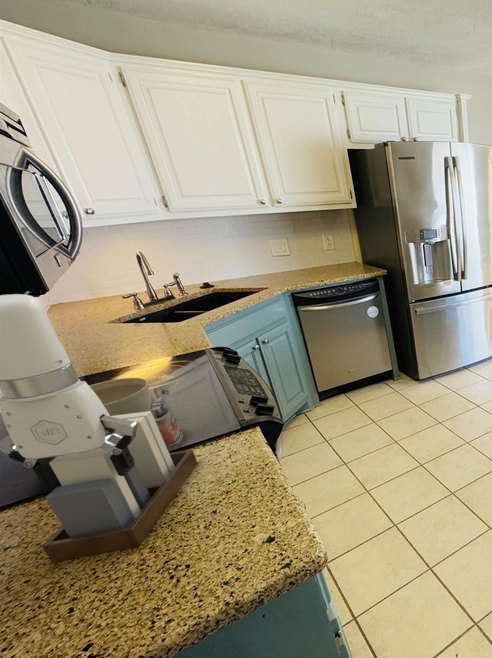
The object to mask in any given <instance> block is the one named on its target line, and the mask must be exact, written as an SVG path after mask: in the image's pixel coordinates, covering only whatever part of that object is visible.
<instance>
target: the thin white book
mask: <svg viewBox="0 0 492 658" xmlns="http://www.w3.org/2000/svg"><path fill="white" fill-rule="evenodd" d="M111 455H112V453H110V452H108V451H106V450H98V451H91V452H84V453H77V454H70V455H61V456H55V457H54V459H53V460H52V461H51V462H49V464H50V466H51V468H52V469H53V471H54V473H55V474H56V476H57V478H58V480H59V481H58V482H59V484H60V486H65V485H72V484H78V483H84V482H90V481H97V480H103V479H109V478H111V480H112V481H113V483H114V485H115V487H116V489H117V491H118V493H119V495H120V497H121V499H122V501H123V503H124V505H125V507H126V509H127V511H128V513H129V515H130V516H131V518H132V520H133V521H134V520H135V518H136V517H137V516H138V515H139V513H140V512H141V510H140V508H139V506H138V504H137V502H136V500H135V498H134V496H133V494H132V492H131V490H130V488H129V486H128V484H127V482H126V480H125V478H124V476H119V475H118V473H117V471H116V469H115V467H114V465H113V463H112V461H111V459H110V456H111Z"/></svg>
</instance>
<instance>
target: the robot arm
mask: <svg viewBox="0 0 492 658" xmlns="http://www.w3.org/2000/svg"><path fill="white" fill-rule="evenodd" d="M52 323H53V322H52V321H51V319H50V317H49V316H48V314H47V311H46V309H45V307H44V306H43V304H42V303H41V301H40V300H39V299H38V298H36V297H34V296H33V295H29V294H25V293H24V294H22V293H12V294H1V295H0V391H1V393H2V395H3V396H1V397H0V415H1V418H2V422H3V424H4V426H5V429H6V431H7V433H8V435H7V436H5V437H3V438H2V439H0V452H1V453H3V454H5V455H8V458H10V459H11V460H13V461H17V462H19V463H22V465H23V467H25V468H27V469H32V470H33V472H34V474H35V476H36V477H37V479H38V481H40V484H41V485H42V486H43V488H44V489H49V488H52V487H54V486H55V485H56V483H58V482H60V481H59V480H58V478H57V476H56V474H55V473H54V471H53V469H52V468H51V466H50V464H49V462H51V461H52V460H53V459H54V458H55V457H57V456H63V455H68V454H74V453H81V452H87V451H92V450H95V449H98V448H99V447H100V448H102V449H104V450H106V451H108V452H110V453H112V455H111V456H110V459H111V461H112V463H113V465H114V467H115V469H116V471H117V473H118V475H119V476H125V475H126V474H127V473H128V472H129V471H130V470H131V469H132V468H133V466H134V459H133V457H132V455H131V453H130V451H129V449H128V446H129V445H130V443H131V442H132V440H133V439H134V438H135V436H136V434H135V433H136V431H137V426H138V423H137V422H134V421H129V420H125V419H120V418H115V417H110V415H109V413H108V412H107V410H106V408H105V407H104V405H103V404H102V402H101V401H100V399H99V398H98V396H97V395H96V394H95V392H94V391H93V390H92V389H91V387H90V385H89V384H88V383H87V381H85V380H81V379H80V377H79V376H78V373H77V372H76V370H75V367H74V365H73V363H72V362H71V360H70V357H69V355H68V354H67V352H66V350H65V348H64V346H63V344H62V342H61V339H60V338H59V336H58V334H57V331H56V329H55V328H54V326H53V324H52ZM116 429H118V430H121V431H122V432H123V437H122V436H120V435H118V434H116ZM108 440H110V441H112V442H114V443H116V444H117V445H115V444H113V443H111V442H109V441H108Z"/></svg>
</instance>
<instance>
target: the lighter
mask: <svg viewBox="0 0 492 658" xmlns="http://www.w3.org/2000/svg"><path fill="white" fill-rule="evenodd" d="M151 407H152V411H153V412H152V415H153V417H154V420H155V422H156V424H157V426H158V429H159V431H160V433H161V436H162V438H163V440H164V443H165V445H166V447H167V450H171V449H174V448H176V447H178V446H179V445H180V443H181V442H182V439H183V436H184V435H183V434H184V433H183V431H182V429H181V428H180V426H179V424H178V422H177V417H176V415H175V413H174V412H173V411H174V410H173V406H172V404H166V401H165V398H164V397H158V398H157V399H156V402H155V403H152V404H151ZM181 434H182V435H181Z"/></svg>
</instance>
